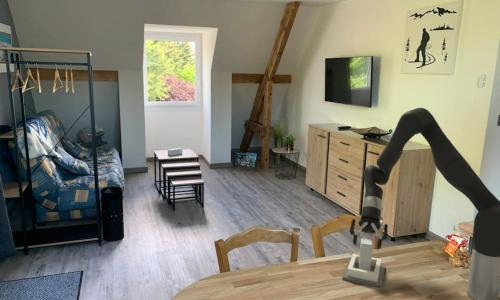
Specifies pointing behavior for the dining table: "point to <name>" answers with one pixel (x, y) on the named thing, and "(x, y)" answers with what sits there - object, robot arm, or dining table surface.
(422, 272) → the dining table surface
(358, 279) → the socket plate
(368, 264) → the skincare box
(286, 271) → the dining table surface
